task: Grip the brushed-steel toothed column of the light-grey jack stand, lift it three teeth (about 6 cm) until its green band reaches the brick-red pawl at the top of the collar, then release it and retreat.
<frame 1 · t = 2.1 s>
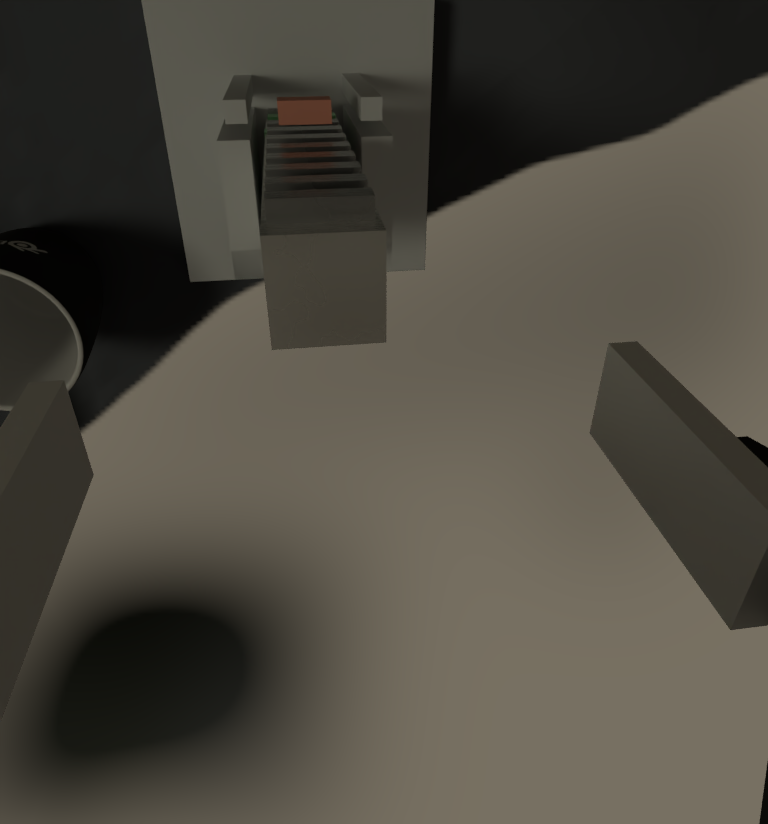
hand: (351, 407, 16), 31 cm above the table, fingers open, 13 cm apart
stand base: (300, 145, 42), on the table
mug: (27, 278, 44), on the table
column: (310, 193, 30), point 13 cm above the table, slide at 0.0 cm
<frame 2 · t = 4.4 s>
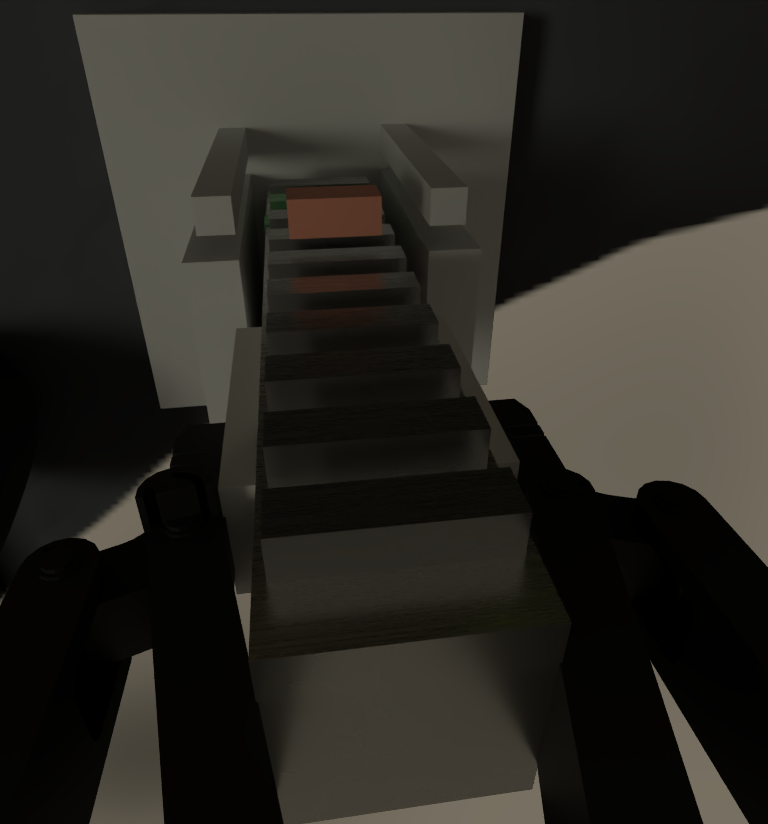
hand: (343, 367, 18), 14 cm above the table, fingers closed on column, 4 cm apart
stand base: (317, 221, 29), on the table
column: (342, 348, 18), point 13 cm above the table, slide at 0.0 cm, touching gripper
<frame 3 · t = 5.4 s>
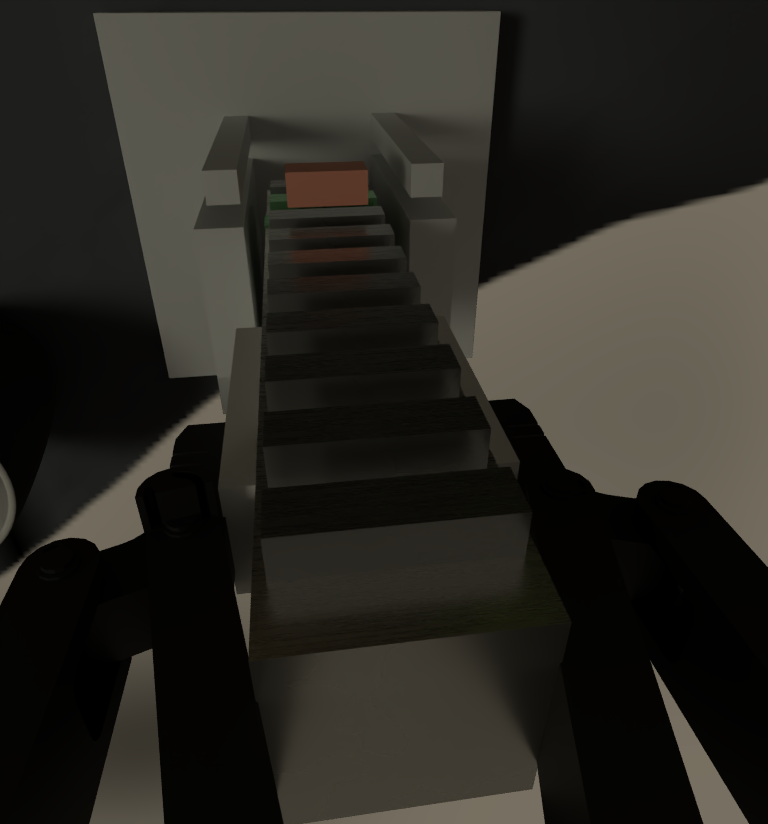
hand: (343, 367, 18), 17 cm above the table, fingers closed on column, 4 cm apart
stand base: (313, 204, 32), on the table
column: (342, 348, 18), point 16 cm above the table, slide at 3.0 cm, touching gripper
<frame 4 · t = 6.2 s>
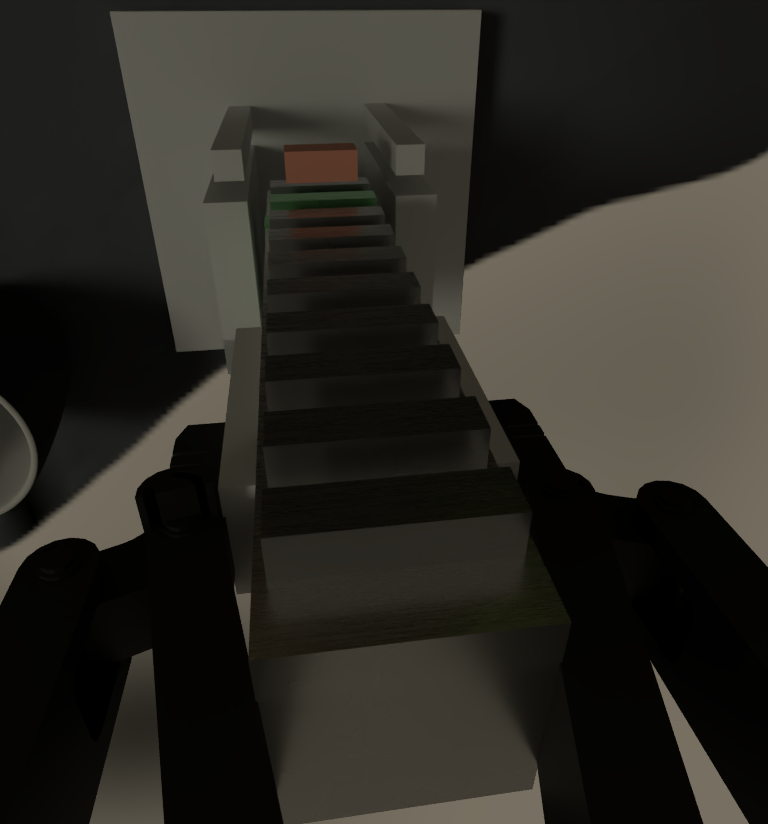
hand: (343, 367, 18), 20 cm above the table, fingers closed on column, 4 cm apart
stand base: (311, 188, 34), on the table
column: (342, 348, 18), point 19 cm above the table, slide at 5.9 cm, touching gripper
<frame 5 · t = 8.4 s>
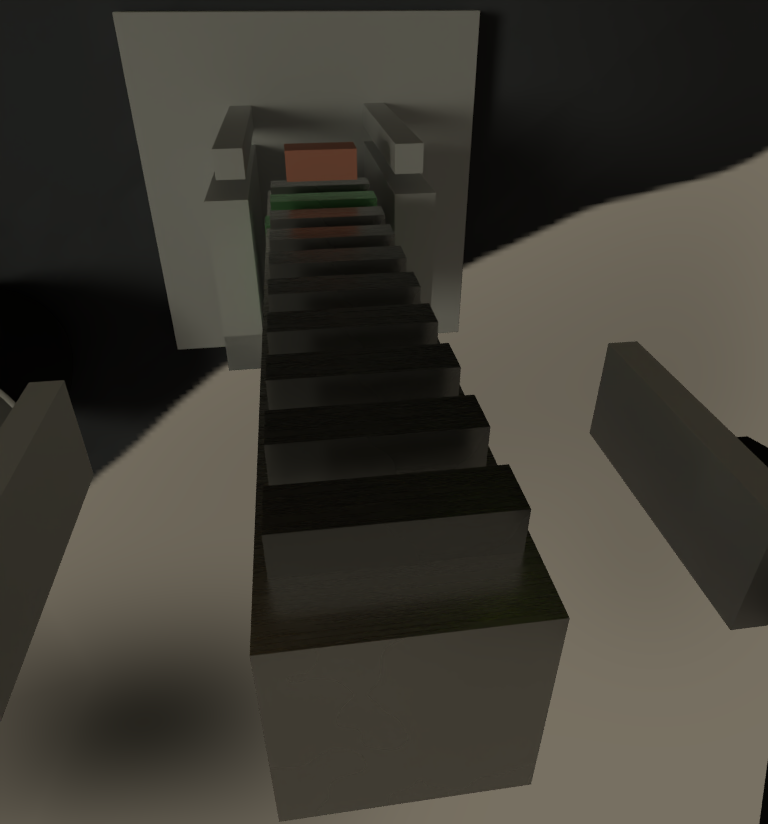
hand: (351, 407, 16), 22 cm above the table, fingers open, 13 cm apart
stand base: (311, 187, 34), on the table
column: (342, 347, 18), point 19 cm above the table, slide at 6.2 cm
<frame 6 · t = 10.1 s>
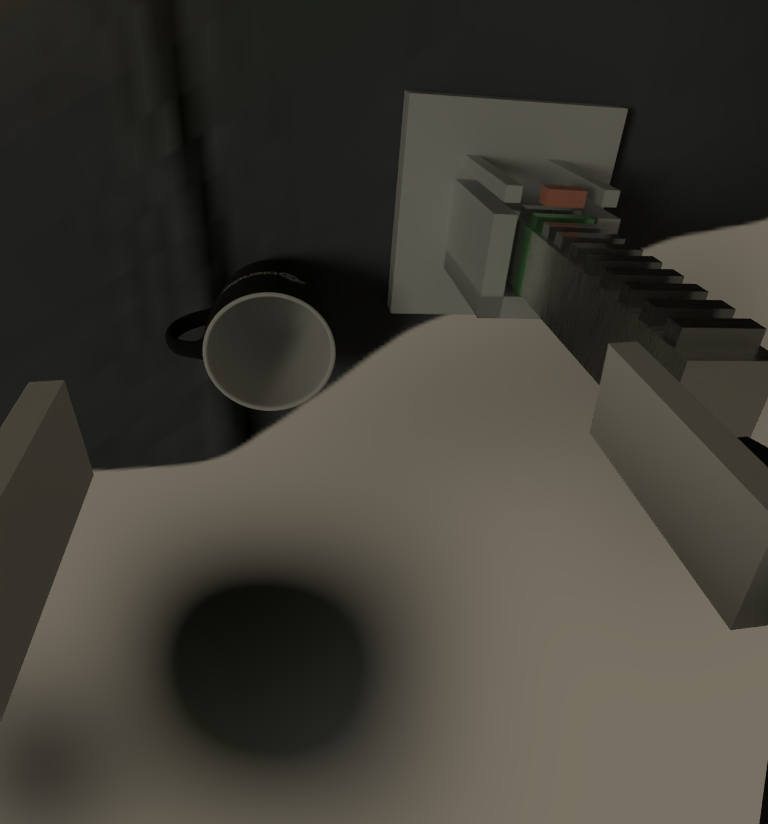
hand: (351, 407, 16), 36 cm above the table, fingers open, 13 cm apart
stand base: (495, 210, 51), on the table
mug: (252, 300, 52), on the table
column: (600, 295, 34), point 19 cm above the table, slide at 6.2 cm
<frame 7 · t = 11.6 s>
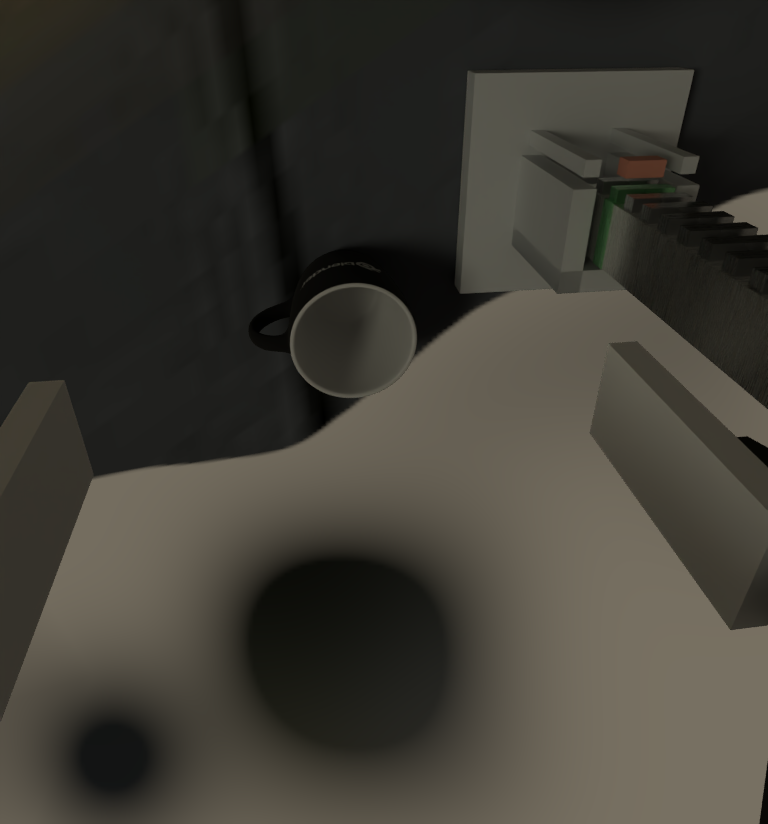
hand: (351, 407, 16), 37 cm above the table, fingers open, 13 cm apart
stand base: (559, 183, 51), on the table
mug: (323, 290, 53), on the table
column: (692, 264, 35), point 19 cm above the table, slide at 6.2 cm
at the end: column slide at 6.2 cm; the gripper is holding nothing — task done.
